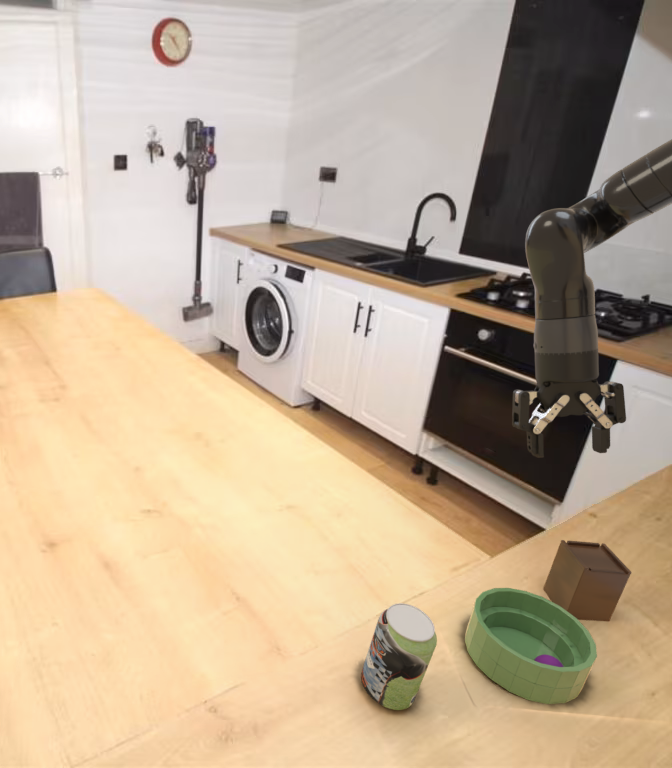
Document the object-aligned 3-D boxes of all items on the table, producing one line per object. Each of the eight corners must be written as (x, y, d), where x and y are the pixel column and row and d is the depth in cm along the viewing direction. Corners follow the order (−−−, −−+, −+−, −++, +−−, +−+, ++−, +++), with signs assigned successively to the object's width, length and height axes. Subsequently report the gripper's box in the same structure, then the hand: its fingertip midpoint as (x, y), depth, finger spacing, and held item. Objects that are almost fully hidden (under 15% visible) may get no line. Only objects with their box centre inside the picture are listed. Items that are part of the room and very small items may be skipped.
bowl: (534, 620, 73) (546, 586, 71) (606, 706, 62) (625, 669, 60) (445, 622, 73) (455, 588, 71) (502, 710, 62) (516, 673, 59)
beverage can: (373, 662, 68) (382, 584, 64) (435, 698, 63) (448, 614, 59) (349, 694, 64) (357, 611, 60) (413, 734, 59) (426, 647, 55)
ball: (529, 648, 66) (538, 656, 63) (560, 654, 65) (570, 663, 62) (528, 675, 66) (536, 684, 63) (559, 682, 65) (569, 692, 62)
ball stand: (542, 589, 79) (561, 539, 75) (584, 593, 78) (604, 543, 74) (563, 619, 74) (584, 568, 70) (608, 624, 73) (631, 572, 69)
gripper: (526, 355, 77) (530, 465, 79) (638, 343, 75) (639, 457, 77) (500, 351, 84) (505, 451, 86) (602, 340, 82) (604, 444, 84)
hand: (568, 454), depth 81 cm, fingers open, 8 cm apart
